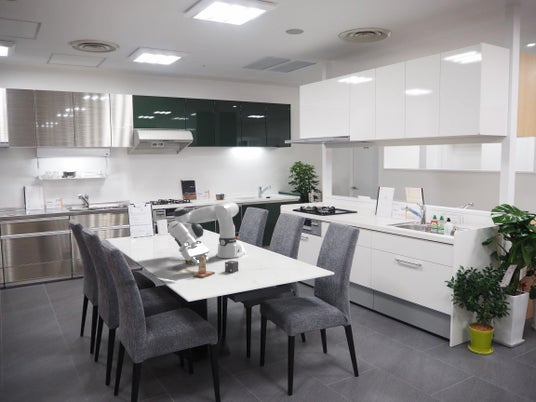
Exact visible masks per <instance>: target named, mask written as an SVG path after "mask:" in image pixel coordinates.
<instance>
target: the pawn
mask: <svg viewBox="0 0 536 402" xmlns="http://www.w3.org/2000/svg"><path fill="white" fill-rule="evenodd" d="M199 259H200V260H198V261H199V262H200V263H199V264H198V270H199V274H205V273H206V271H207V266H206V265H207V261H206V260H205V257H204V256H200V258H199Z"/></svg>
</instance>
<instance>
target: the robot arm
mask: <svg viewBox="0 0 536 402" xmlns="http://www.w3.org/2000/svg"><path fill="white" fill-rule="evenodd" d="M239 209H240V208H239V205H238V204H237V203H236V202H233V201H227V202H223V203H219V204H213V205H209V206H203V207H198V208H195V209H193V210H191V209H190V208H187V207H184V206H181V207H177V208H176V209H174V211H173V217H174V219H175V220H173V221H170V222H169V223H168V226H167V231H168V233H169V235H170V236H171V237H172V238H173V239H174V241H175V242H176V244H177V245H178V247H179V248H178V251H179V253H180V254H181V256H182V258H184V260H185V261H186V260H187V261H188V260H192V261H193V262H195V263H196V264H198V265H199V263H200V262H199V261H198V260H196V259H195V258H198V257H200V256H204V257H205V260H206V262H208V261H209V260H210V259H209V257H208V254H209V252H210V250H209V249H208V247H207V246H206V245H205V244H204V243H202V242H201V243H200V242H198V243H197V241H198V239H200V238H201V237H203V235H204V231H205V230H204V228H203V227H202V225H201V223H202V224H203V223H208V222H213V221H218V224H219V225H218V226H219V237H218V242H219V243H218V245H217V253H216V256H217V257H218V258H220V259H235V258H237V259H239V258H240V257H242V256H244V255H245V254H246V252H245V251H243V248H242V245H241V244H240V243H239V242H238V241H237V240H239V236H236V226H235V224H234V221H233V217H235V216H237V214H238V213H239V211H240V210H239Z"/></svg>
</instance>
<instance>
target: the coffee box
mask: <svg viewBox="0 0 536 402" xmlns="http://www.w3.org/2000/svg"><path fill="white" fill-rule="evenodd" d="M196 241H197V243H198V242H200V243H202V241H199V240H196ZM199 258H200V257H198V258H195V259H196V260H200V259H199ZM185 264H187V265H192V266H199V264H196V263H195V262H193V261H192V260H188V261H187V260H185Z"/></svg>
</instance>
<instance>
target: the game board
mask: <svg viewBox="0 0 536 402" xmlns="http://www.w3.org/2000/svg"><path fill="white" fill-rule="evenodd" d="M166 271H171V272H176V273H177V272H179V273H182V274H183V273H184V274H189V275H194V276H192V277H194V278H200V279H205V278H207V277H210V276H212V275H215V271H211V270H206V273H205V274H199V269H197V268H196V269H195V268H188V267H183V266H182V267H181V266H177V265H176V266H174V267H171V268H168V269H166Z"/></svg>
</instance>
